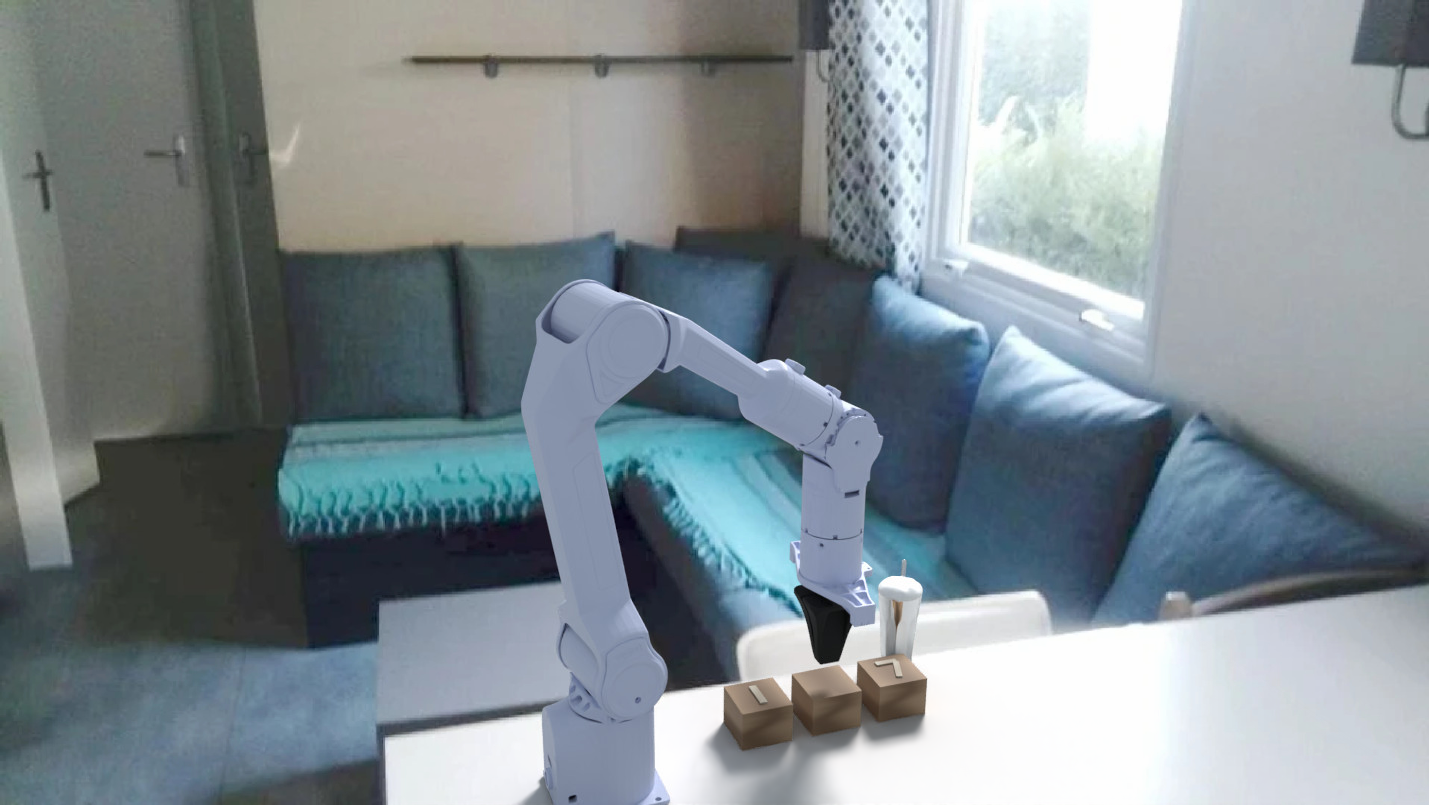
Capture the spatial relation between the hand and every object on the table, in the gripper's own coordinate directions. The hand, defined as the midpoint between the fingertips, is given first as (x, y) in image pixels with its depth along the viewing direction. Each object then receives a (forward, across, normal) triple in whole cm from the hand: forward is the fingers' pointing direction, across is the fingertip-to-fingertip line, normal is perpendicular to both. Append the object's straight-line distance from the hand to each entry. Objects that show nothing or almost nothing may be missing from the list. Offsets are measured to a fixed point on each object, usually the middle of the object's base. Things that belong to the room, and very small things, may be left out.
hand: (826, 659), depth 109 cm
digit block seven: (+6, 0, -7) cm, 10 cm away
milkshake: (+6, +8, -12) cm, 16 cm away
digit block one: (+6, 0, +7) cm, 9 cm away
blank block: (+6, 0, 0) cm, 6 cm away
